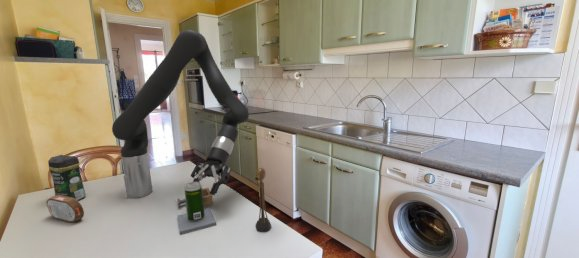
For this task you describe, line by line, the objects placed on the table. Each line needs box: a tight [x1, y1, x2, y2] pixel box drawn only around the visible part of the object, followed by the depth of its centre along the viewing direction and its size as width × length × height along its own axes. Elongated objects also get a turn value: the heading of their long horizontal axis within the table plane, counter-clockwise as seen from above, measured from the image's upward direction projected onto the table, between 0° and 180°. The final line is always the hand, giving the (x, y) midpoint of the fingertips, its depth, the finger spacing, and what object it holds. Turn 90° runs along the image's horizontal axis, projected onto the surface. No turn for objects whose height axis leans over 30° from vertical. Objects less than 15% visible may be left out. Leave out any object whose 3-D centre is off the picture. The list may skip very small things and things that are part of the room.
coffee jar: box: [47, 154, 87, 202], centre depth 105 cm, size 10×8×19 cm
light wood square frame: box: [176, 186, 214, 207], centre depth 100 cm, size 12×9×4 cm
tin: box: [46, 194, 85, 223], centre depth 90 cm, size 15×3×8 cm, turn 71°
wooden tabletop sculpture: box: [254, 167, 272, 233], centre depth 80 cm, size 6×5×20 cm
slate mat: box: [176, 207, 217, 235], centre depth 87 cm, size 11×11×1 cm
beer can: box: [184, 181, 205, 222], centre depth 86 cm, size 5×5×12 cm
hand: (202, 192), depth 89 cm, fingers open, 8 cm apart
